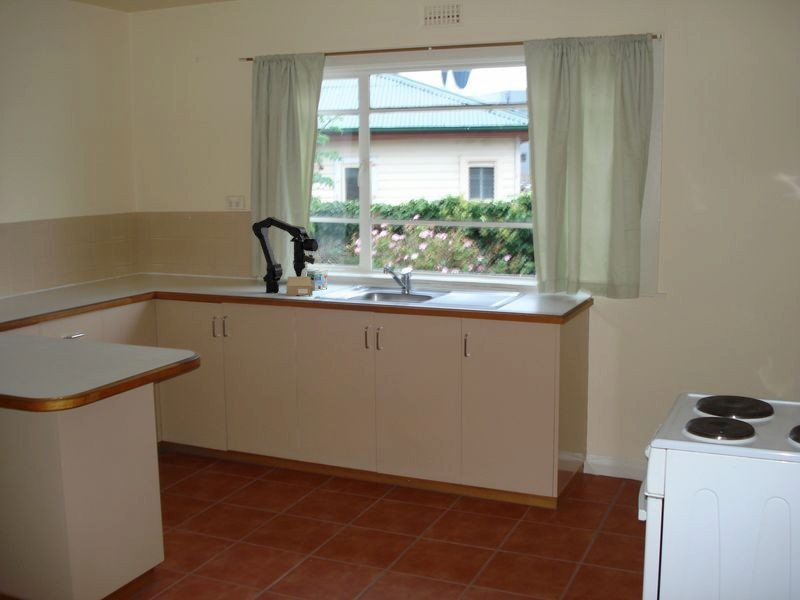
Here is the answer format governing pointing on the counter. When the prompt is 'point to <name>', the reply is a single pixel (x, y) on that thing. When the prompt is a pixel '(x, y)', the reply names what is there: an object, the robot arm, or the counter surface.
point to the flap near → (299, 281)
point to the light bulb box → (318, 278)
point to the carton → (299, 290)
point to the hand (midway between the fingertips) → (299, 279)
